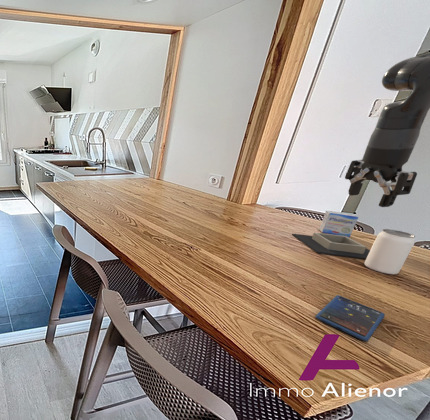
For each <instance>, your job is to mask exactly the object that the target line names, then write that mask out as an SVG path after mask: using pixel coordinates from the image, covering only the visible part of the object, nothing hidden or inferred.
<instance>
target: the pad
mask: <svg viewBox="0 0 430 420" xmlns="http://www.w3.org/2000/svg"><path fill="white" fill-rule="evenodd" d="M291 236H293V237H294V238H295V239H297V240H298V241H299V242H301V243H303V244H304V245H305V246H307V247H308V248H309V249H311V250H312V251H313V252H314V253H316V254H319V255H326V256H327V255H328V256H335V257H342V258H349V259H350V258H351V259H358V260H364V261H365V260H366V258H367V256H368V254H369V252H370V250H371V249H368V248H367V246H366V245H363V244H362V243H360V242H358V241H357V240H354V239H352V238H350V237H347V236H341V235H332V234H326V233H322V232H313V235H309V234H300V233H299V234H298V233H292V234H291Z"/></svg>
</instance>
